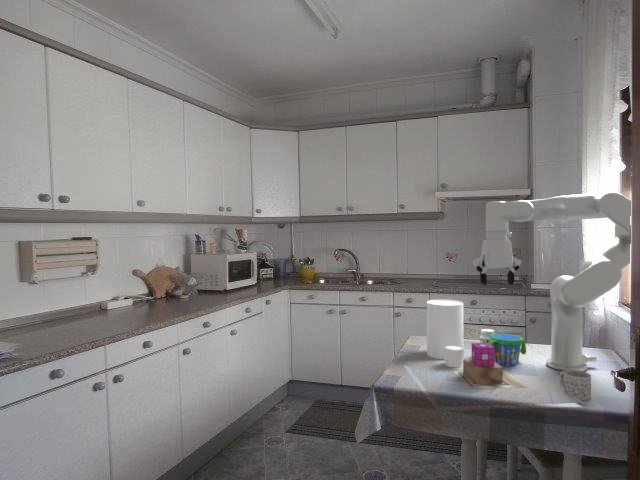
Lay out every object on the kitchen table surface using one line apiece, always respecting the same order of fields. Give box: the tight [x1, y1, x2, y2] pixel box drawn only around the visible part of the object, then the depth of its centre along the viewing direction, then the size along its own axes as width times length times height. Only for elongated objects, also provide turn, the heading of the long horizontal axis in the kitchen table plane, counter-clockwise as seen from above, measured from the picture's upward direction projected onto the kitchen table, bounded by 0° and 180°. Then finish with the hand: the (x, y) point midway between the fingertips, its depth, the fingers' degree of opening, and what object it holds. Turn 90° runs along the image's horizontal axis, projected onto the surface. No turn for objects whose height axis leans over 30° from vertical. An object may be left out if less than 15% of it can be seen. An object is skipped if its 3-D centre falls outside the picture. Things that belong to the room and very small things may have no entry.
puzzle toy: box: [471, 342, 495, 366], centre depth 144 cm, size 6×6×6 cm
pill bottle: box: [479, 328, 495, 343], centre depth 171 cm, size 6×6×10 cm
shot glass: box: [444, 345, 465, 368], centre depth 159 cm, size 7×7×7 cm
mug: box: [559, 370, 592, 402], centre depth 133 cm, size 10×7×7 cm
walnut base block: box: [462, 358, 504, 384], centre depth 144 cm, size 9×9×5 cm
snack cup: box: [488, 333, 527, 367], centre depth 160 cm, size 16×10×10 cm
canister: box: [426, 299, 464, 360], centre depth 174 cm, size 14×14×20 cm
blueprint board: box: [453, 369, 528, 390], centre depth 144 cm, size 17×16×1 cm
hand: (497, 284), depth 162 cm, fingers open, 9 cm apart
